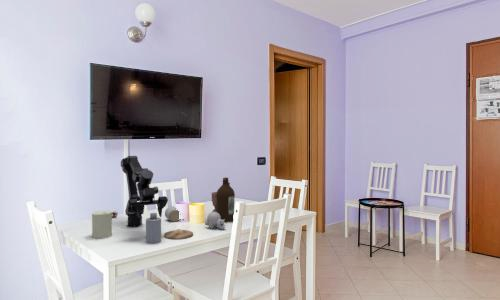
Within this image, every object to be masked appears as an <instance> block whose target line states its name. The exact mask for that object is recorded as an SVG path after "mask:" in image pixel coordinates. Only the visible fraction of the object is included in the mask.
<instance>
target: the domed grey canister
mask: <svg viewBox="0 0 500 300" xmlns="http://www.w3.org/2000/svg"><path fill="white" fill-rule="evenodd" d="M149 216H150V217H147V218H146V219H145V243H146V244H159V243H161V242H162V219H161V218H162V217H158V213H157V212H151V213H150V215H149Z"/></svg>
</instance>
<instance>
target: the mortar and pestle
mask: <svg viewBox="0 0 500 300" xmlns="http://www.w3.org/2000/svg"><path fill="white" fill-rule="evenodd" d="M228 184H229V185H230V186H231V184H230V181H229V182H228ZM216 194H217V191H213V192H211V202H212V206H213V207H214V209H212V211H211V212H217V197H216Z"/></svg>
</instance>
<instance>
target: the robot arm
mask: <svg viewBox="0 0 500 300" xmlns="http://www.w3.org/2000/svg"><path fill="white" fill-rule="evenodd" d="M138 159H139V158H138V156H137V155H128V156H126V157H124V158H122V159H121V160H120V167H121V169H122V172H123V173H124V174H125V177H126V181H127V189H128V196H129V199H128V200H127V204H126V207H125V215H126V216H127V225H126V227H130V228H131V227H133V228H134V227H135V228H138V227H140V226H141V225H143V215H144V213H145V206H152V205H153V206H154V205H156V206H157V209H156V210H157V212H158V214H159V218H162V214H163V213H162V212H163V209H164V208H165V207H166V206H167V203H168V200H169V199H168V196H165V195H164V196H159V197H158V198H157V199H155V195H157V194H159V188H158V186H153V187H150V185H151V183H152V181H153V178H154V172H153V171H152V170H150V169H148V167H146V168H143V167H142V166H141V163H140V162H139V160H138Z"/></svg>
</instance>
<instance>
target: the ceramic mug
mask: <svg viewBox="0 0 500 300" xmlns="http://www.w3.org/2000/svg"><path fill="white" fill-rule="evenodd" d="M176 209H177V207H175V206H168V207H167V208H166V209H165V210H164V216H165V218H166V219H168V220H169V221H170V222H173V223H174V222H178V221H179V220H180V219H179V212H180V210H179V209H177V210H176ZM178 210H179V211H178ZM178 219H179V220H178Z"/></svg>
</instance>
